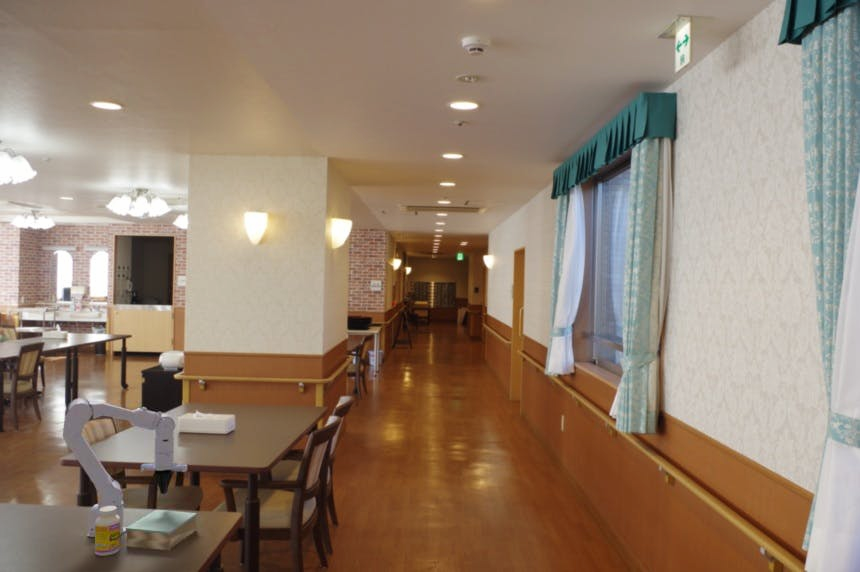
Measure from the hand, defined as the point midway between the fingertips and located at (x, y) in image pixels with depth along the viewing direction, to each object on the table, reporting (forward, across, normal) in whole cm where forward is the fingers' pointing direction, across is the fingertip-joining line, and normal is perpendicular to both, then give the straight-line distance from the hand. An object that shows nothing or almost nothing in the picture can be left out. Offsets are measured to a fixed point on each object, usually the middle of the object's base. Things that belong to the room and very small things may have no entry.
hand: (163, 492), depth 209 cm
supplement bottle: (+11, -8, -21) cm, 25 cm away
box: (+10, +4, -11) cm, 16 cm away
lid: (+5, +4, -11) cm, 13 cm away
